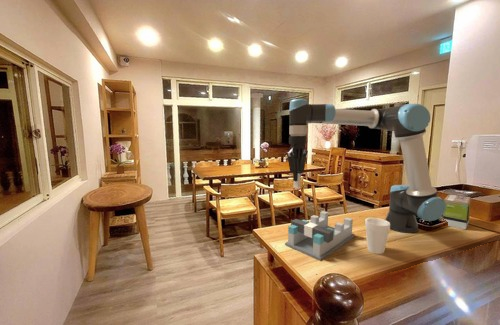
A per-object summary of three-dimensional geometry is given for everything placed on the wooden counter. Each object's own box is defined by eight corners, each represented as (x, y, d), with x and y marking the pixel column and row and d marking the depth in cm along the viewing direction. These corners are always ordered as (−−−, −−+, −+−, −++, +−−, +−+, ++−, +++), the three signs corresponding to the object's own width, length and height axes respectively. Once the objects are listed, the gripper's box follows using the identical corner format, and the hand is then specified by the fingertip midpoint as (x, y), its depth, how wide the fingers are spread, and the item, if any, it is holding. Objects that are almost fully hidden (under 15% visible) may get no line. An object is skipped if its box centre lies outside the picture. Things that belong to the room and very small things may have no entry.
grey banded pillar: (333, 240, 98) (333, 230, 97) (327, 243, 94) (328, 233, 94) (296, 227, 111) (296, 218, 111) (290, 229, 108) (290, 220, 108)
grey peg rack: (354, 236, 114) (355, 218, 113) (320, 260, 92) (320, 239, 91) (321, 225, 127) (322, 210, 126) (285, 245, 106) (285, 226, 104)
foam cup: (384, 246, 104) (386, 218, 102) (391, 257, 95) (393, 226, 93) (361, 244, 106) (362, 217, 104) (366, 254, 97) (368, 224, 95)
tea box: (446, 217, 137) (448, 193, 135) (469, 222, 130) (472, 197, 128) (441, 224, 127) (444, 198, 125) (466, 230, 120) (469, 202, 118)
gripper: (299, 135, 108) (298, 184, 111) (281, 135, 100) (281, 188, 103) (313, 135, 103) (312, 186, 106) (295, 135, 94) (294, 191, 97)
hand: (296, 187), depth 104 cm, fingers closed
